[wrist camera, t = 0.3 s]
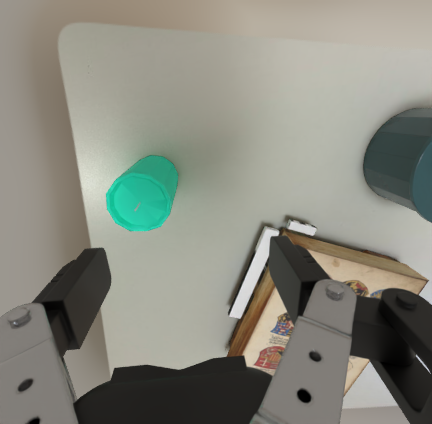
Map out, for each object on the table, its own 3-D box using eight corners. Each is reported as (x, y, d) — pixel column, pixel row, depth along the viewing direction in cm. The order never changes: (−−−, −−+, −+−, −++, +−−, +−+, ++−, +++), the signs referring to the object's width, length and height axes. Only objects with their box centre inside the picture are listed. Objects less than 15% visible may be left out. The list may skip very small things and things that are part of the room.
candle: (127, 189, 33) (92, 228, 22) (140, 147, 31) (109, 166, 20) (170, 204, 34) (157, 248, 23) (185, 165, 32) (179, 192, 21)
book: (266, 208, 36) (209, 345, 45) (280, 226, 30) (211, 380, 39) (401, 247, 40) (324, 364, 49) (436, 269, 34) (342, 397, 43)
